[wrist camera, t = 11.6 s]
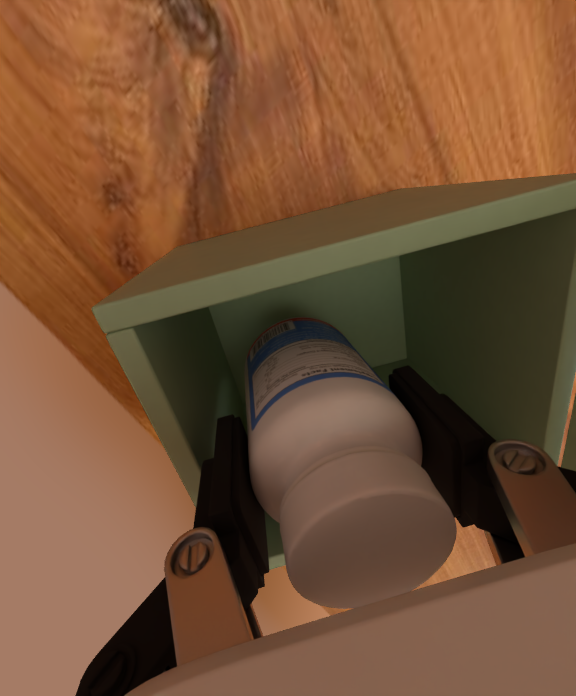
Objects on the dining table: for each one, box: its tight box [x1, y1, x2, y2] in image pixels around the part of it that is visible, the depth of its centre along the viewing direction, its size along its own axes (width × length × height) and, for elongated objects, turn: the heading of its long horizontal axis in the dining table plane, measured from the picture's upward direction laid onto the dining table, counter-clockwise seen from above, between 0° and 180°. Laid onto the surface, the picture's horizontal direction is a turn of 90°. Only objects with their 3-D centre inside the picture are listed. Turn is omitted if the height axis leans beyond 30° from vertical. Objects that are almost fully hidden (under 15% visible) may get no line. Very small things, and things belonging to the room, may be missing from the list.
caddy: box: [92, 173, 576, 570], centre depth 17 cm, size 15×13×13 cm
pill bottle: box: [244, 317, 456, 609], centre depth 12 cm, size 6×5×10 cm
